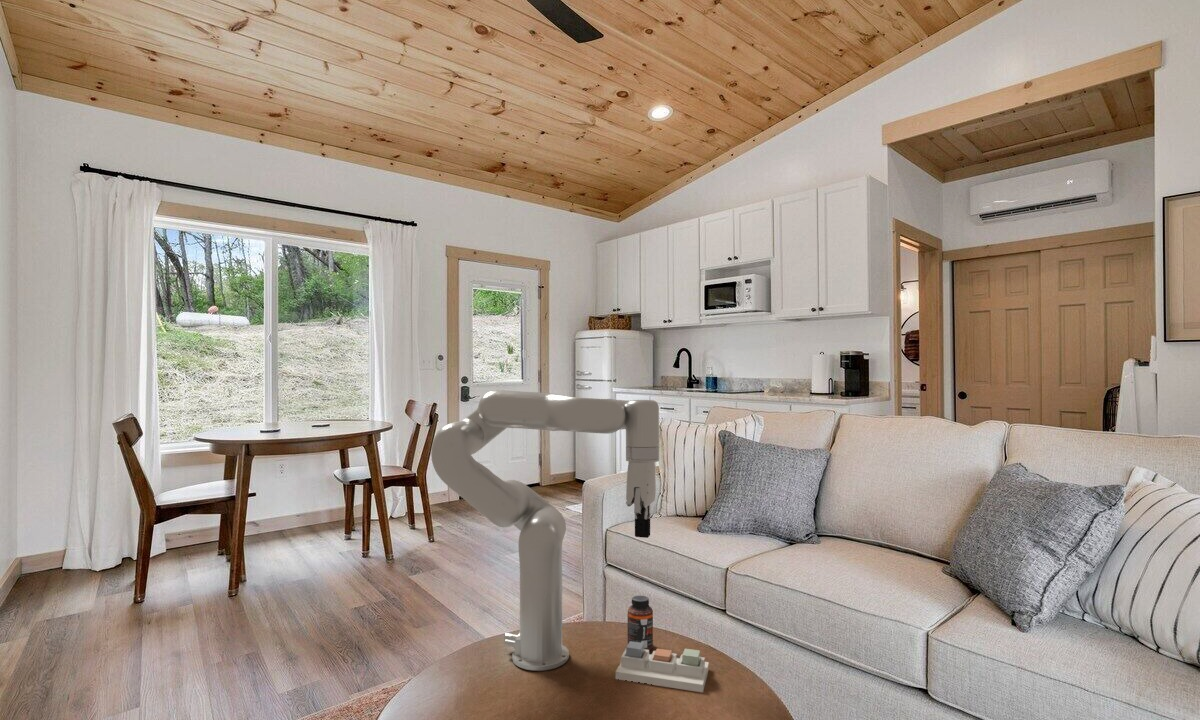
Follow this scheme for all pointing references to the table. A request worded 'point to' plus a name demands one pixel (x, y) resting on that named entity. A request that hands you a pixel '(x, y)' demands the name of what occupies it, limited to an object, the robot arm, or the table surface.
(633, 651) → the slate button
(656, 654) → the terracotta button
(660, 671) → the button console
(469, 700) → the table surface
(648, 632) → the supplement bottle
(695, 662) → the sage button
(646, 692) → the table surface
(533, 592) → the robot arm
